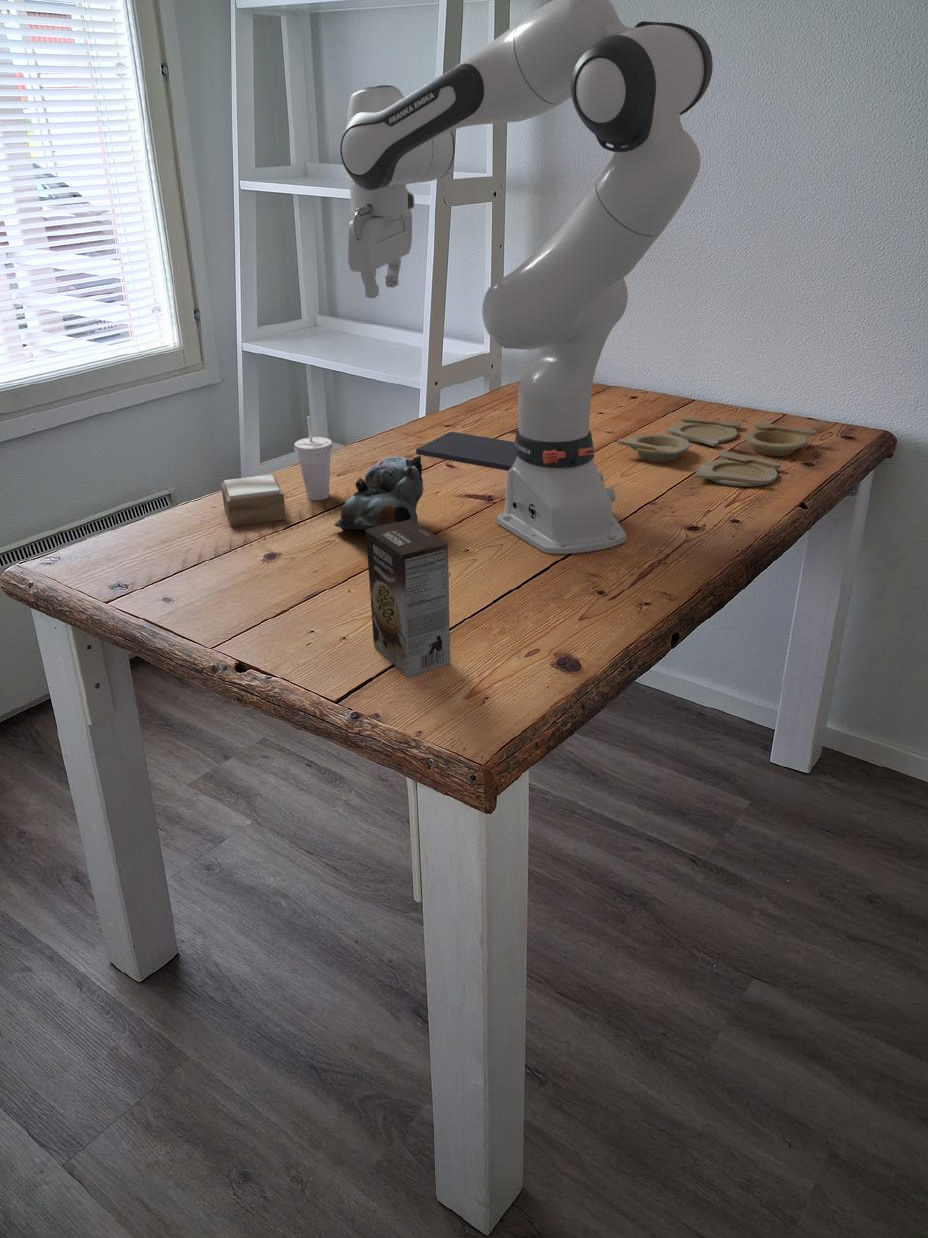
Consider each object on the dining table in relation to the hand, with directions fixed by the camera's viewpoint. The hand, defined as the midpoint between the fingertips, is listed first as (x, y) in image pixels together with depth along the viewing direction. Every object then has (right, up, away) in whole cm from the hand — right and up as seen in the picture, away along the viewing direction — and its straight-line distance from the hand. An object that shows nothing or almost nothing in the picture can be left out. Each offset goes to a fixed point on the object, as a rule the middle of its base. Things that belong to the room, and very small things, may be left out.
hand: (382, 291), depth 165 cm
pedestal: (-21, -36, +2) cm, 42 cm away
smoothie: (-12, -33, +8) cm, 36 cm away
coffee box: (+7, -59, -41) cm, 72 cm away
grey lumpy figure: (0, -40, -6) cm, 41 cm away
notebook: (+17, -23, +28) cm, 40 cm away
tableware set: (+62, -23, +25) cm, 71 cm away
